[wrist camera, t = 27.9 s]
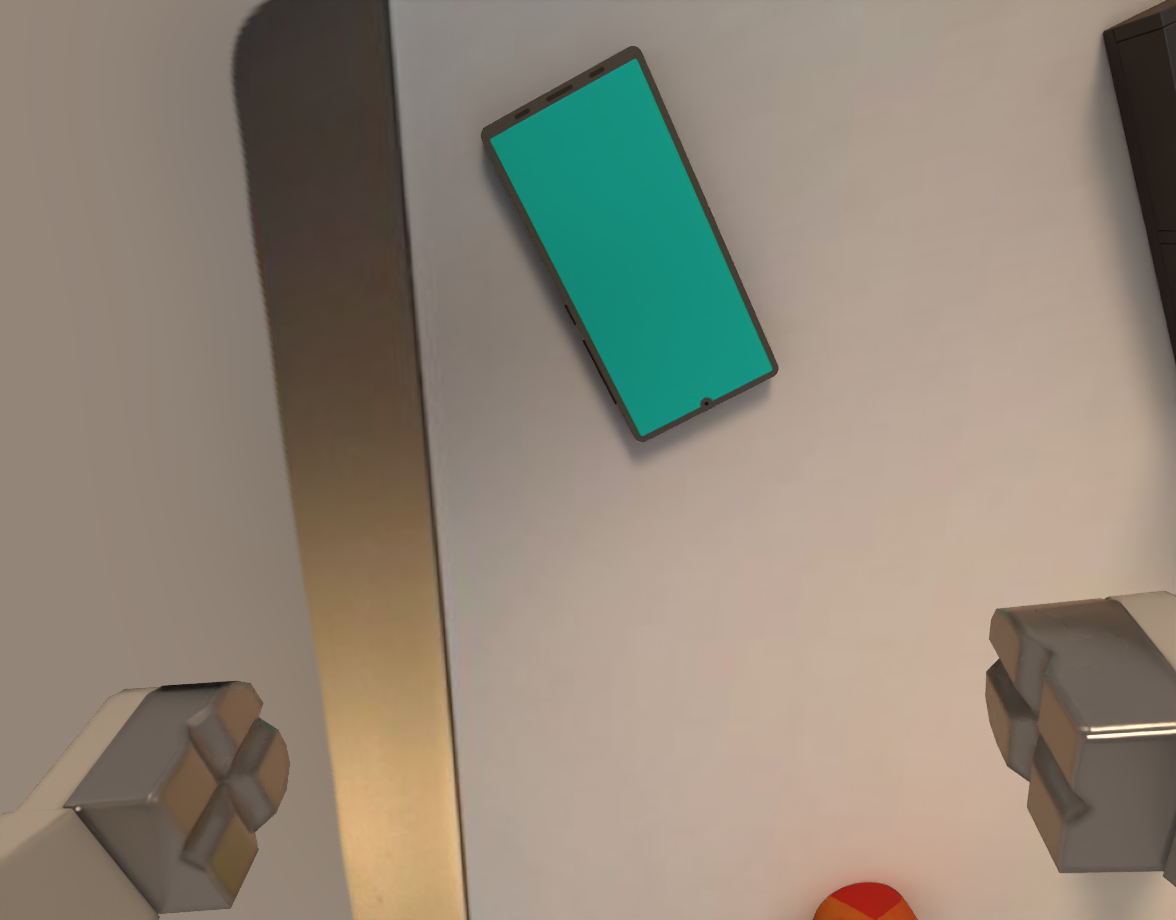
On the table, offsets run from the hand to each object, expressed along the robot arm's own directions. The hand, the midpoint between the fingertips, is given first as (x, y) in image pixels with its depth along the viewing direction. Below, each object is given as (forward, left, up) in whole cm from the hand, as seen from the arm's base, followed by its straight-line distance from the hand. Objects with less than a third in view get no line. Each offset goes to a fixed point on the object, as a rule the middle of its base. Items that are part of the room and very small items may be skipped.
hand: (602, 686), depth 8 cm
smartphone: (-2, +5, -27) cm, 28 cm away
